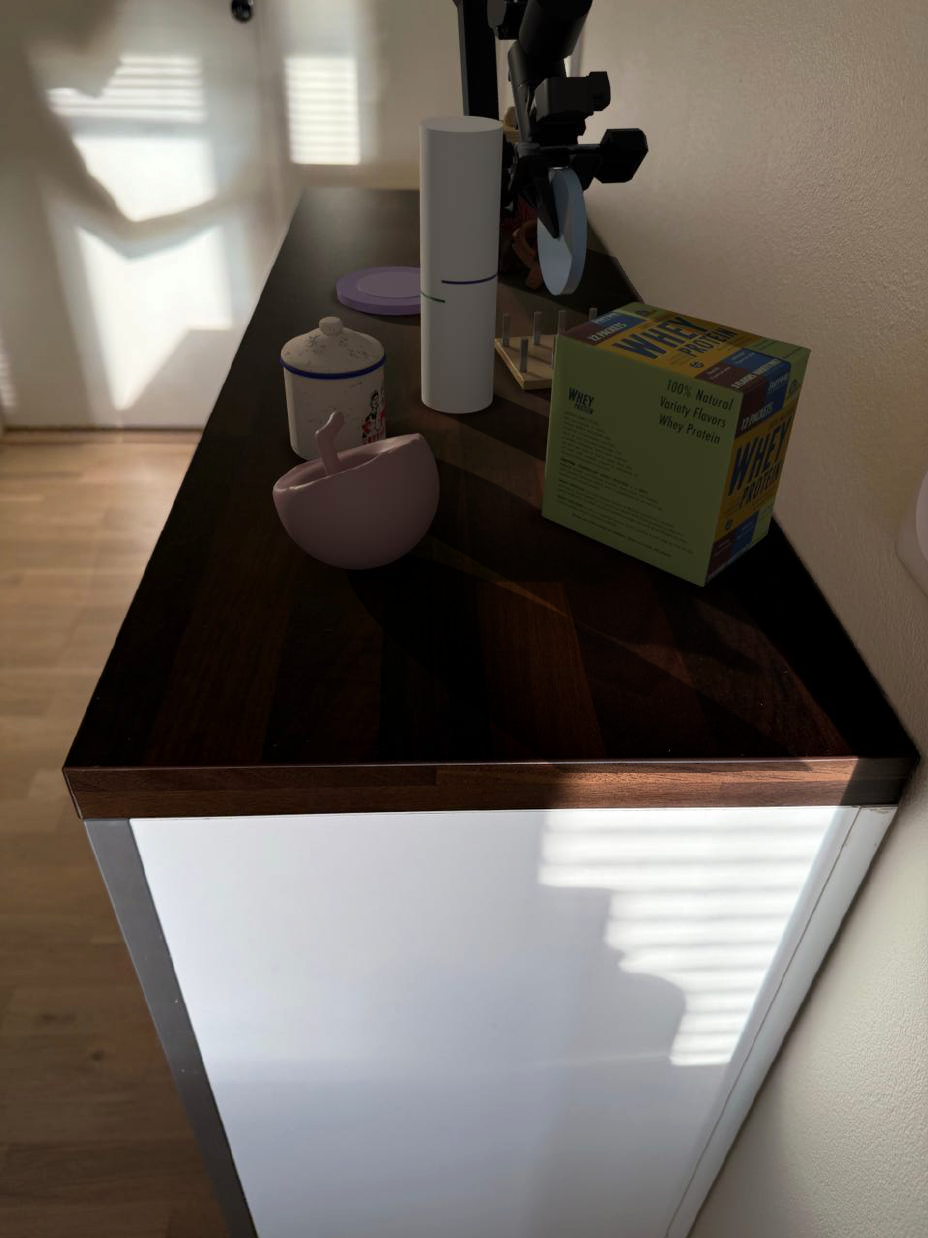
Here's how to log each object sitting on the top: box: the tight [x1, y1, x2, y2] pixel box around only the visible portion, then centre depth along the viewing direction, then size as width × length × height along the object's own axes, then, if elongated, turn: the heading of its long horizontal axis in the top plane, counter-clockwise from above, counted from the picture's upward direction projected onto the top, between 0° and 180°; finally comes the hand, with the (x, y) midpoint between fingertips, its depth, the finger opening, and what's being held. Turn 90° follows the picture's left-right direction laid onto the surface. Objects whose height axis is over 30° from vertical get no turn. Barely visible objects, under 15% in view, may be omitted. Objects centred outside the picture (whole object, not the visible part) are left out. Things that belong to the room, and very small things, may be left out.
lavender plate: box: [335, 265, 421, 316], centre depth 123 cm, size 15×15×1 cm
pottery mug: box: [497, 219, 545, 290], centre depth 127 cm, size 12×10×8 cm
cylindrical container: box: [418, 115, 503, 414], centre depth 91 cm, size 7×7×25 cm
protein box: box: [540, 301, 812, 588], centre depth 75 cm, size 10×15×16 cm
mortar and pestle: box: [272, 411, 441, 571], centre depth 72 cm, size 12×12×12 cm
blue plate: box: [537, 168, 588, 296], centre depth 100 cm, size 12×1×12 cm, turn 13°
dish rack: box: [495, 307, 598, 391], centre depth 105 cm, size 12×11×4 cm
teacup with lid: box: [279, 316, 387, 462], centre depth 87 cm, size 12×9×12 cm
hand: (564, 236), depth 99 cm, fingers closed on blue plate, 1 cm apart
